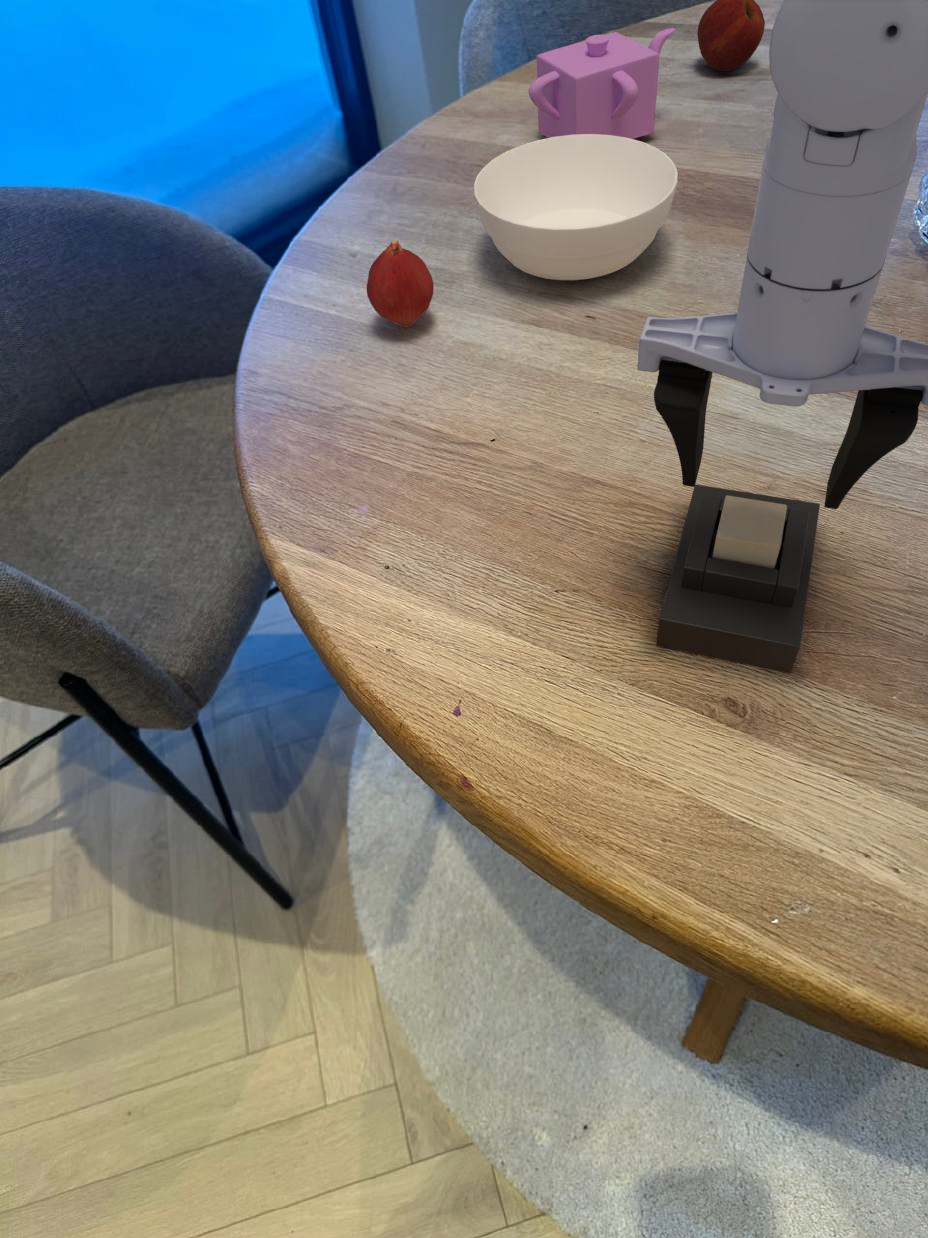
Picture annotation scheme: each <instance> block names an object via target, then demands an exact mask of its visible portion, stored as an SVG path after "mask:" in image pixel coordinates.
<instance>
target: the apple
mask: <svg viewBox="0 0 928 1238" xmlns="http://www.w3.org/2000/svg"><path fill="white" fill-rule="evenodd" d="M764 17H765V16H764V13H763V11H762V8H761V7H760V5H759V4H758V3H757V2H756V0H715V1H714V2H713V3H711V4H710V5H709V6H708V7H707V9H706V10H705V11H704V13H703V14H702V15H701V17H700V20H699V22H698V25H697V33H696V34H697V41H698V43H697V44H698V48H699V51H700V55H701V57H702V60H704V63H706V64H707V66H708V67H710V68H712V69H714V70H716V71H718V72H731V71H734V70H737V69H739V68H740V67H741V66H743V65H745V64H746V62H748V61H749V59H750V58H751V57H752V56H753V55H754V53H755V52H756V50H757V49H758V47H759V45H760V43H761V42H762V38H763V36H764V33H765V28H766V27H765V26H766V21H765V18H764Z"/></svg>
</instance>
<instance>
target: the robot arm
mask: <svg viewBox="0 0 928 1238" xmlns="http://www.w3.org/2000/svg"><path fill="white" fill-rule="evenodd" d="M771 29H772V31H771V35H770V41H769V49H768V58H769V59H768V60H769V69H770V76H771V79H772V83H773V85H774V88H775V90H776V93H777V96H776V98H775V101H774V107H773V122H772V127H771V134H770V137H769V139H768V141H767V142H766V145H765V148H764V151H763V159H762V165H761V170H760V176H759V182H758V187H757V194H756V199H755V205H754V212H753V216H752V223H751V230H750V234H749V239H748V246H747V253H746V258H745V264H744V270H743V277H742V281H741V288H740V295H739V300H738V306H737V312H728V313H718V314H717V313H716V314H708V315H696V316H685V317H655V316H647V317H646V320H645V323H644V325H643V328H642V330H641V333H640V336H639V340H638V354H637V366H636V368H637V371H639V372H649V373H657V372H658V375H657V380H656V385H655V387H654V390H653V401H654V406H655V410H656V411H657V413H658V414H659V415H660V416H661V418H662V420H663V422H664V423H665V425H666V427H667V429H668V430H669V432H670V433H669V434H670V435H671V437H672V439H673V442H674V445H675V449H676V451H677V455H678V458H679V464H680V469H681V477H682V479H681V480H682V485H683V486H685V487H691V488H694V487H695V484H696V482H697V478H698V475H699V472H700V468H701V463H702V459H703V452H704V447H705V445H704V444H705V431H706V415H707V407H708V402H709V397H710V396H709V395H710V389H711V383H712V379H713V373H715V374H717V375H720V376H722V377H726V378H728V379H731V380H734V381H737V382H739V383H742V384H746V385H748V386H751V387H754V388H757V389H759V390H760V391H759V398H760V399H761V401H762V402H763V403H766V404H770V405H778V406H785V407H793V408H795V407H801V406H804V405H805V404H806V403H807V401H808V398H809V396H810V395H821V394H833V393H843V392H845V393H846V392H855V391H857V394H856V398H855V401H854V405H853V408H852V412H851V415H850V419H849V423H848V426H847V428H846V432H845V434H844V436H843V439H842V442H841V444H840V445H839V449H838V451H837V454H836V456H835V458H834V461H833V463H832V466H831V469H830V473H829V477H828V480H827V485H826V491H825V492H826V493H825V500H824V506H823V507H824V508H825V509H826V508H827V509H831V510H837V509H839V507H840V505H841V503H842V502H843V501H844V499H845V497H847V495H848V493H849V492H850V491H851V489H852V488H853V487H854V486H855V485H856V483H857V482H858V481H859V480H860V479H861V478H862V476H864V475H865V473H866V472H868V470H869V469H871V468H872V467H873V466H874V465H875V464H876V463H877V462H878V461H880V460H881V459H883V457H885V456H886V455H888V454H889V453H890V452H892V451H894V450H895V449H896V448H898V447H900V446H902V445H904V444H906V442H907V441H908V440H909V439H910V437H911V436H912V434H913V433H914V431H915V429H916V427H917V425H918V421H919V409H920V408H919V407H920V405H921V404H922V405H924V406H928V343H926V342H922V341H918V340H914V339H911V338H909V337H905V336H901V335H898V334H894V333H892V332H888V331H884V330H881V329H877V328H874V327H871V326H868V325H866V323H867V321H868V319H869V314H870V311H871V308H872V305H873V302H874V298H875V294H876V292H877V290H878V289H877V288H878V285H879V283H880V278H881V276H882V272H883V268H884V265H885V261H886V258H887V256H888V255H887V254H888V252H889V248H890V245H891V242H892V238H893V235H894V231H895V229H896V225H897V222H898V218H899V215H900V213H901V209H902V205H903V202H904V199H905V196H906V192H907V190H908V186H909V183H910V180H911V177H912V173H913V170H914V166H915V163H916V160H917V154H918V144H917V132H918V128H919V126H920V122H921V119H922V115H923V112H924V108H925V106H926V102H927V99H928V0H782V3H781V4H780V7H779V9H778V11H777V15H776V17H775V20H774V23H773V26H772V28H771Z"/></svg>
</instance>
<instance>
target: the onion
mask: <svg viewBox="0 0 928 1238" xmlns="http://www.w3.org/2000/svg"><path fill="white" fill-rule="evenodd" d="M434 287H435V285H434V280H433V276H432V273H430V270H429V268H428V266H427V264H426V263H425V262H424V260H423V259H422V258H421V257H419V255H417V254H415V253H414V252H413V251H411V250H409V249H407V248H403V247H402V246H401V245H400V242H399V240H392V241H390V243H389V245H387V247H386V248H385V249H384V250H383V251H382V252H381V253H380V254H379V255H378V256H377V257H376V259H375V260H374V261H373V263H372V264H371V265H370V268H369V271H368V276H367V283H366V295H367V298H368V300H369V303H370V305H371V306H372V308H373V309H374V311H375V312H376V313H377V315H379V316H380V317H382V318H383V319H385V320H387V321H389V322H390V323H393V324H396V325H397V326H401V327H403V328H410V327H411V326H412V325H414V324H415V323H416V321H417V320H419V319H420V318H421V317H422V316H423V315H424V314H425V312H426V311H427V310H428V309H429V308H430V304H431V302H432V299H433V296H434Z"/></svg>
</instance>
